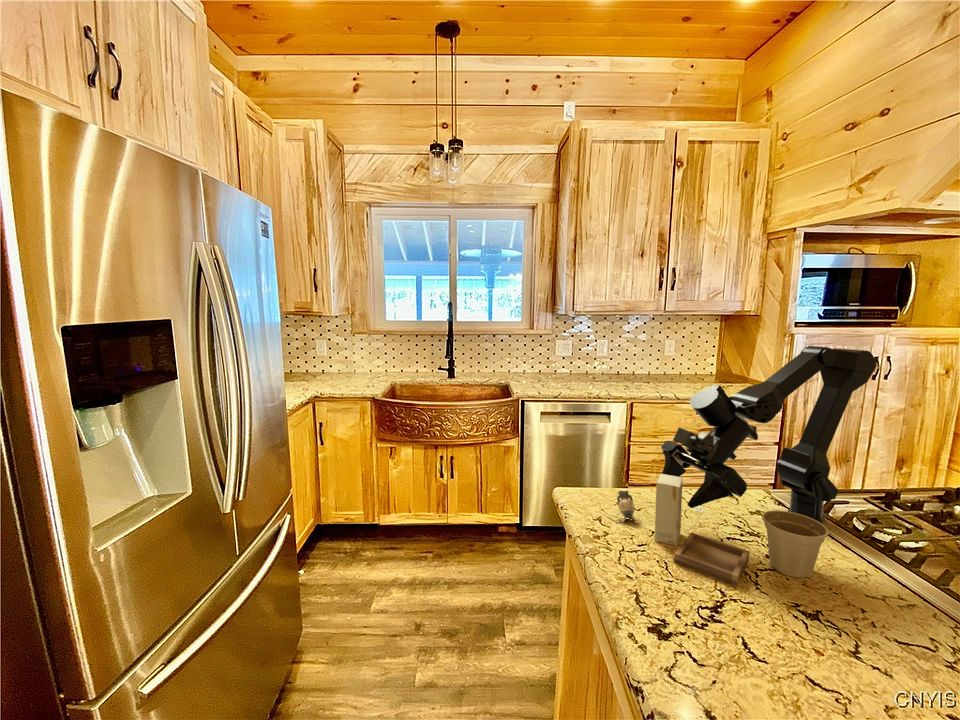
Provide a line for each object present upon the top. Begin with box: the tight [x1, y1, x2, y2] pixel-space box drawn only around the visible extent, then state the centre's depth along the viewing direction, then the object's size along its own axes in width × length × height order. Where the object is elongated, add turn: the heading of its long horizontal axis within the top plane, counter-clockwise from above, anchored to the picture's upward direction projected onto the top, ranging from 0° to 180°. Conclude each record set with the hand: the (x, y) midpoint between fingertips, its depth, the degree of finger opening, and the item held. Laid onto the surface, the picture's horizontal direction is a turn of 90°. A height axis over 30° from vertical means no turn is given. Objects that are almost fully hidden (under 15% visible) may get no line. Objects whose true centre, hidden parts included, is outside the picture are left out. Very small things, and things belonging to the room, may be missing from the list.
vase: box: [615, 490, 640, 524], centre depth 92 cm, size 5×5×6 cm
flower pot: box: [761, 509, 830, 579], centre depth 73 cm, size 9×9×9 cm
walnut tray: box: [673, 532, 750, 588], centre depth 76 cm, size 10×10×2 cm
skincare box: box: [654, 473, 683, 546], centre depth 84 cm, size 6×4×12 cm
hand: (673, 496), depth 84 cm, fingers open, 9 cm apart
